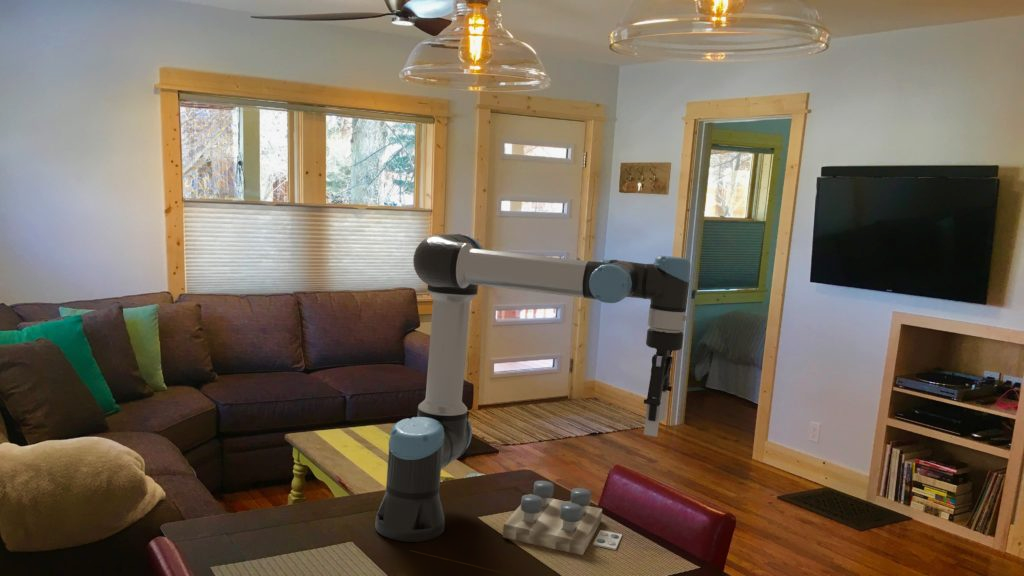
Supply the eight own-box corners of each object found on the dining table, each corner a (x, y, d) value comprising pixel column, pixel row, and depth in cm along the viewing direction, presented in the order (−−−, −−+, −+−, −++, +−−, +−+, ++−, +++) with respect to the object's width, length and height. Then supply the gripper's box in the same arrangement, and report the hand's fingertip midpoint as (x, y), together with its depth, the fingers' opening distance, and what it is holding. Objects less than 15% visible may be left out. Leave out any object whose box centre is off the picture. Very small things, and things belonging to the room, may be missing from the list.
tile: (593, 545, 164) (593, 542, 164) (600, 531, 172) (600, 529, 172) (615, 550, 163) (615, 547, 163) (621, 536, 170) (622, 533, 170)
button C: (555, 533, 163) (558, 508, 163) (561, 525, 168) (563, 501, 167) (576, 537, 162) (579, 512, 161) (581, 529, 166) (583, 505, 166)
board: (502, 537, 164) (503, 524, 164) (528, 505, 183) (529, 493, 183) (582, 555, 159) (584, 541, 159) (601, 521, 178) (602, 508, 178)
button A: (516, 524, 166) (519, 499, 165) (522, 517, 170) (525, 493, 170) (536, 529, 165) (539, 504, 164) (542, 521, 169) (544, 497, 168)
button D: (566, 516, 173) (569, 493, 172) (571, 509, 177) (573, 486, 177) (586, 521, 171) (588, 497, 171) (590, 513, 176) (593, 490, 175)
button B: (529, 508, 175) (531, 485, 175) (535, 502, 180) (537, 479, 179) (548, 512, 174) (550, 489, 174) (553, 506, 178) (555, 483, 178)
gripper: (677, 339, 146) (665, 445, 148) (688, 324, 169) (678, 416, 171) (639, 334, 148) (628, 439, 150) (655, 320, 171) (645, 411, 174)
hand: (654, 427), depth 161 cm, fingers open, 13 cm apart
